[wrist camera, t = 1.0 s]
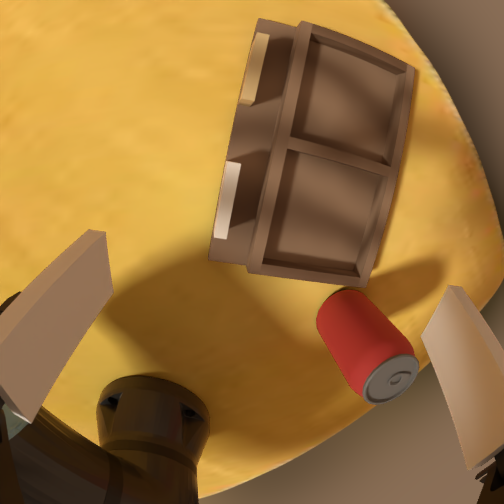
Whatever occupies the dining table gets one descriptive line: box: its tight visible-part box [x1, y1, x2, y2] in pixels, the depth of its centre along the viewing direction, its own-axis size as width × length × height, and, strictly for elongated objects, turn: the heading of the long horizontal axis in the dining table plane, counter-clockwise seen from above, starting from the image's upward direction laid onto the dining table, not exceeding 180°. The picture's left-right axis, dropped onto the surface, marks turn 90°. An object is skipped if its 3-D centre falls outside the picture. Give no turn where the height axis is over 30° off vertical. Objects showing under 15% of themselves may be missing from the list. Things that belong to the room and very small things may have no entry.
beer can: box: [316, 290, 419, 405], centre depth 27 cm, size 7×7×12 cm
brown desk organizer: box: [208, 18, 415, 288], centre depth 24 cm, size 23×16×4 cm
